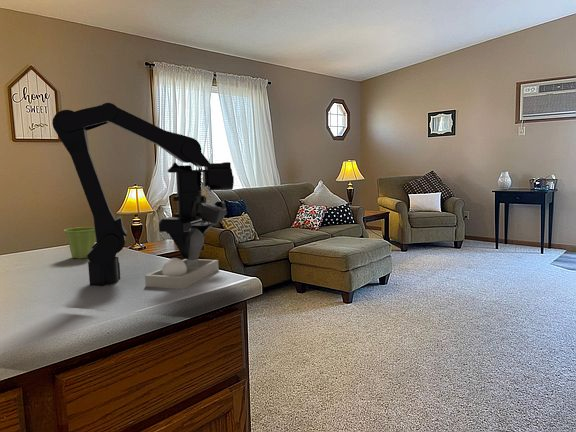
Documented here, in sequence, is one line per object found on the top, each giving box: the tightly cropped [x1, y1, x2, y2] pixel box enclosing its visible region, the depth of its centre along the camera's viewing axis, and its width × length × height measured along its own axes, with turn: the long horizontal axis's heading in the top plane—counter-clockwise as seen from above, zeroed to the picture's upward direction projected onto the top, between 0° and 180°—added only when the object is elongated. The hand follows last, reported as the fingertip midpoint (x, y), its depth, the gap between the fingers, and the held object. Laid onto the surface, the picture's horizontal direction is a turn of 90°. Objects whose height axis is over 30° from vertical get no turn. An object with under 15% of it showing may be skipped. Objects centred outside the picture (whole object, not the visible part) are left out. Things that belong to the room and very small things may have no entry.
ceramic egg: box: [161, 257, 187, 276], centre depth 98 cm, size 5×5×5 cm
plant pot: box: [63, 226, 96, 260], centre depth 134 cm, size 9×9×9 cm
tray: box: [144, 258, 220, 290], centre depth 102 cm, size 17×9×3 cm, turn 163°
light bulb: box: [187, 228, 205, 267], centre depth 105 cm, size 6×6×10 cm
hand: (192, 256), depth 106 cm, fingers closed on light bulb, 5 cm apart
